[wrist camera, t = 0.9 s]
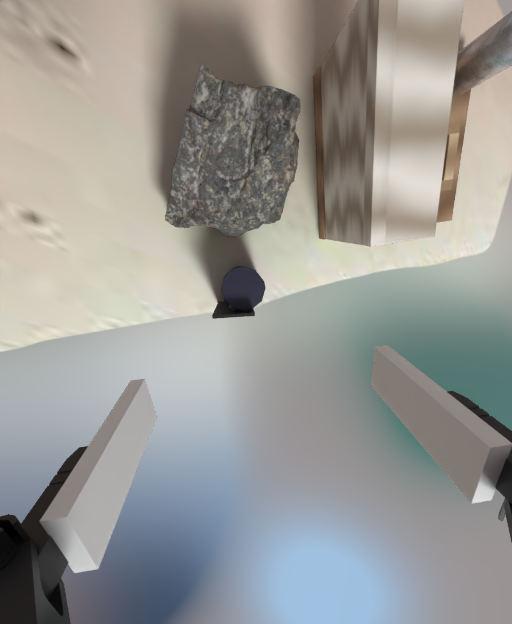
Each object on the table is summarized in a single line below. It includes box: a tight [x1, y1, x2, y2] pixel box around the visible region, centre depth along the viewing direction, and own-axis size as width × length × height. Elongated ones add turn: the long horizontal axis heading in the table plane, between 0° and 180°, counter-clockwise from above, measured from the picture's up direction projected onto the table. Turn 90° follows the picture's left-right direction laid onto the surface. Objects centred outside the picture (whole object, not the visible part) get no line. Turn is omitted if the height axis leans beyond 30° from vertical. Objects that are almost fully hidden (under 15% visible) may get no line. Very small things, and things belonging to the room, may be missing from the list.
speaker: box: [212, 266, 265, 318], centre depth 35 cm, size 8×6×10 cm
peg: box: [452, 11, 512, 99], centre depth 24 cm, size 4×4×14 cm
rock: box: [165, 65, 300, 237], centre depth 30 cm, size 18×13×15 cm
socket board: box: [313, 0, 471, 246], centre depth 28 cm, size 20×20×14 cm
